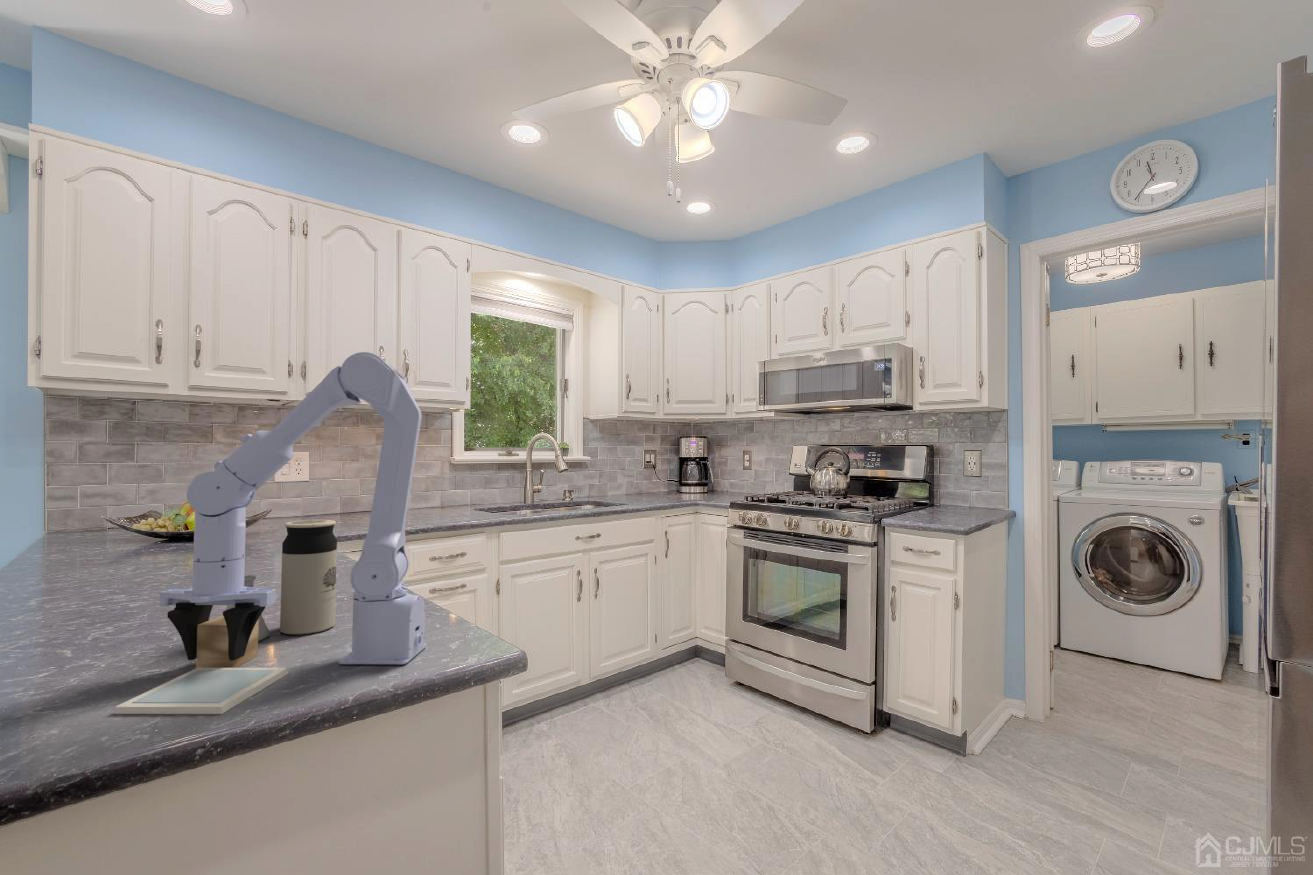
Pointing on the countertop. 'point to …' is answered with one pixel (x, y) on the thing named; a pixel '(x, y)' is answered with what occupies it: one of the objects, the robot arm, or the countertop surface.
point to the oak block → (221, 645)
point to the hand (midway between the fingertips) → (216, 657)
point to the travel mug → (308, 577)
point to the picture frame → (203, 691)
